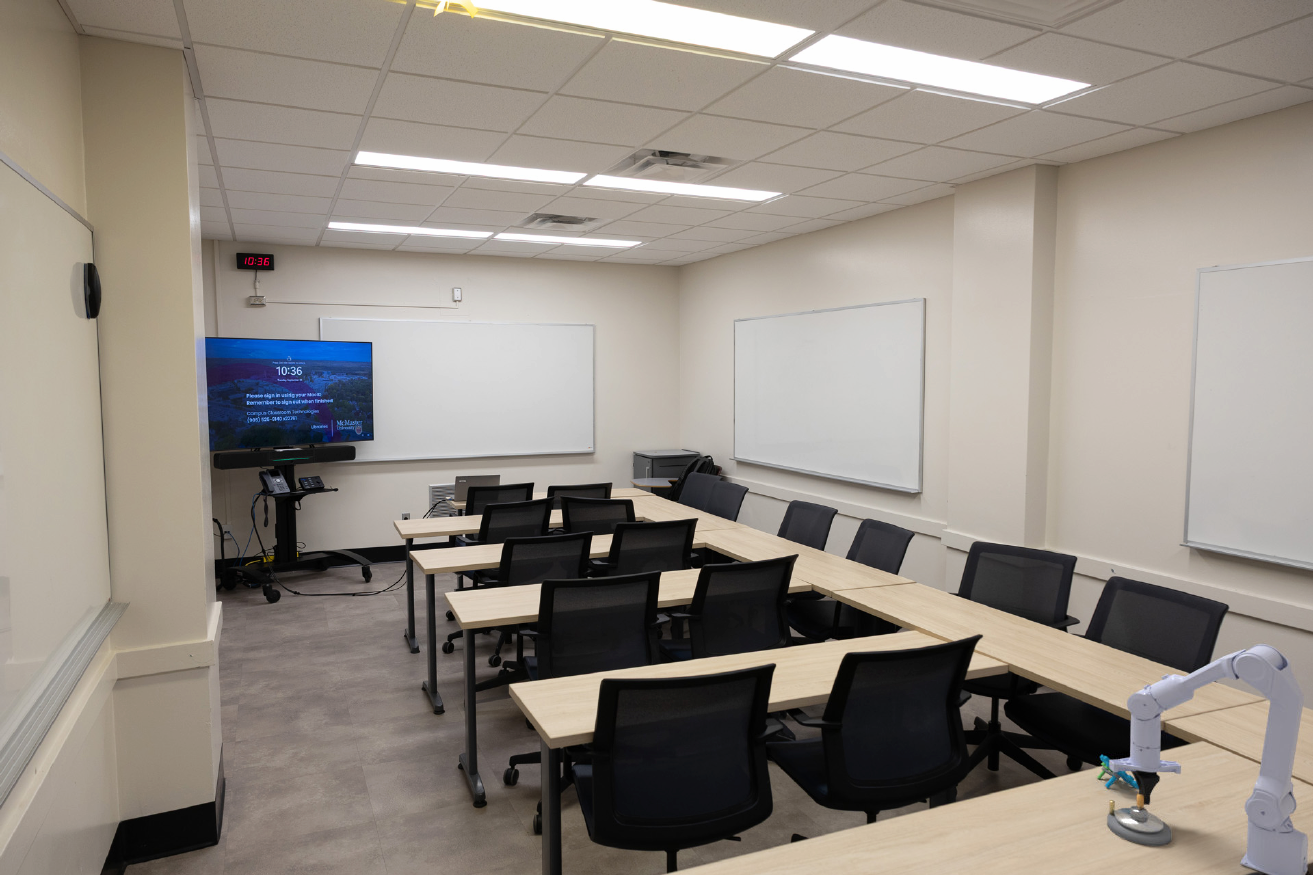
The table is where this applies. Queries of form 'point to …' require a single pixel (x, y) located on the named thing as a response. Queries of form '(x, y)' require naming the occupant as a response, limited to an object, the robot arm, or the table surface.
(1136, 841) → the post base
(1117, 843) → the table surface
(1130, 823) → the flange
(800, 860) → the table surface
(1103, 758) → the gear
